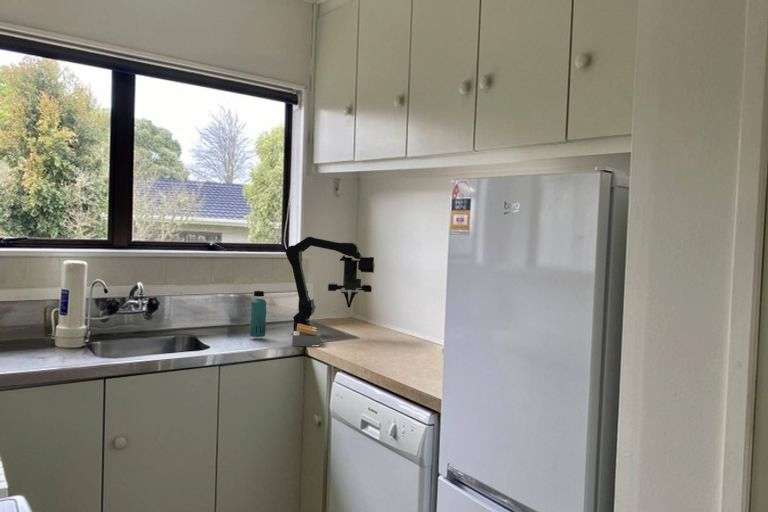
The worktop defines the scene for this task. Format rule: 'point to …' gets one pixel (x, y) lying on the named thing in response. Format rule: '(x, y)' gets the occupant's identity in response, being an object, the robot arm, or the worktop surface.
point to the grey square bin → (305, 339)
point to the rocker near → (306, 330)
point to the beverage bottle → (258, 316)
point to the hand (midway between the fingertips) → (348, 307)
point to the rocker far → (306, 326)
